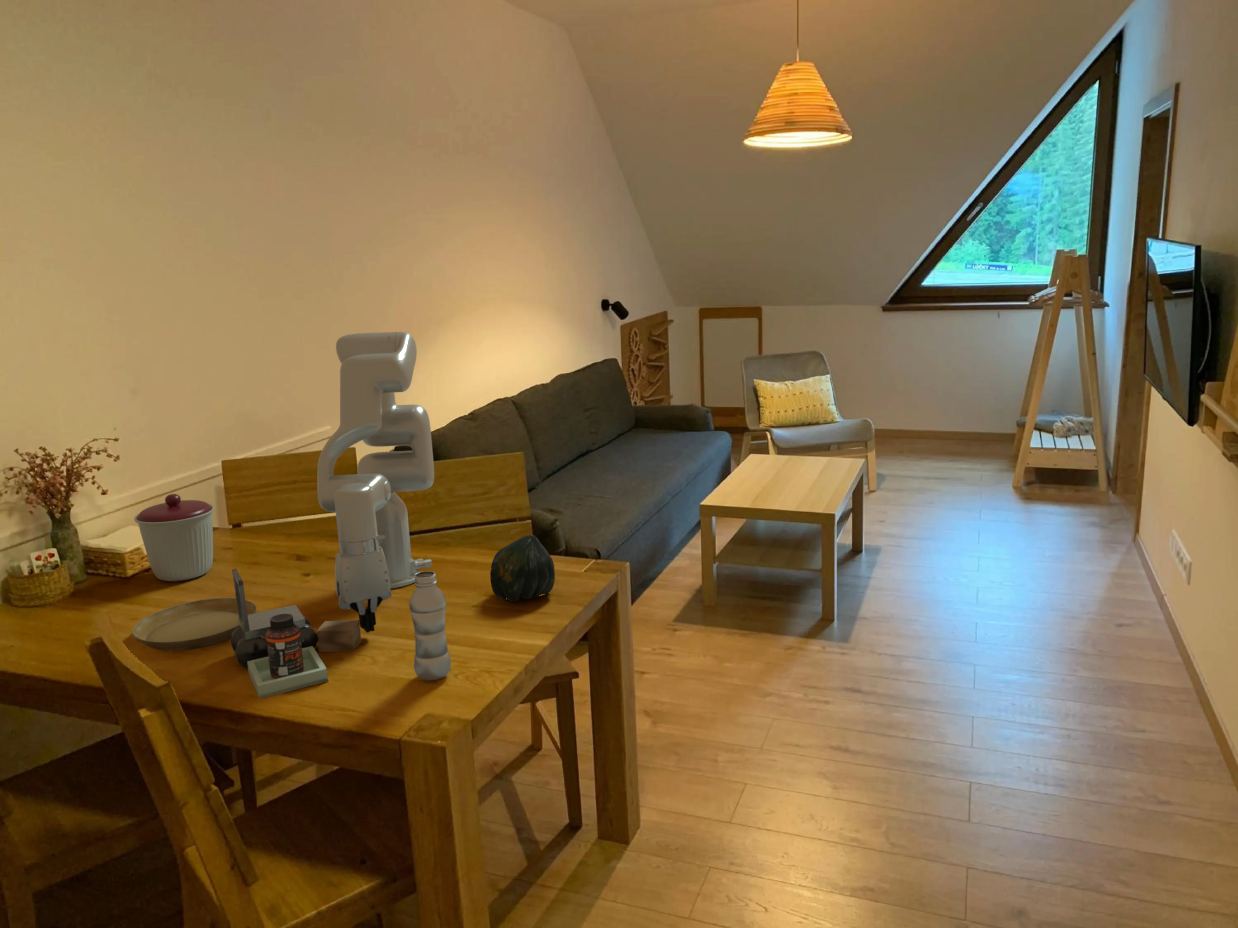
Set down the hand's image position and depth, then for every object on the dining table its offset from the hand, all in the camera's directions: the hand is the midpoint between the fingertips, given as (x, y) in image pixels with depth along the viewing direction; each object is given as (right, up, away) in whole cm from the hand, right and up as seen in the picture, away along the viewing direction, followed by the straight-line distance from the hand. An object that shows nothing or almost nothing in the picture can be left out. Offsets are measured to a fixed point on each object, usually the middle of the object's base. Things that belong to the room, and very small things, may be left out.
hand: (368, 629), depth 184 cm
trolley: (-17, -4, -6) cm, 18 cm away
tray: (-10, -6, -16) cm, 20 cm away
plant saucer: (-38, -2, +7) cm, 39 cm away
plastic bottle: (+17, -6, -18) cm, 26 cm away
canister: (-59, +6, +43) cm, 73 cm away
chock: (-5, -3, -3) cm, 6 cm away
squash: (+30, +4, +20) cm, 36 cm away
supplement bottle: (-10, -5, -16) cm, 20 cm away
